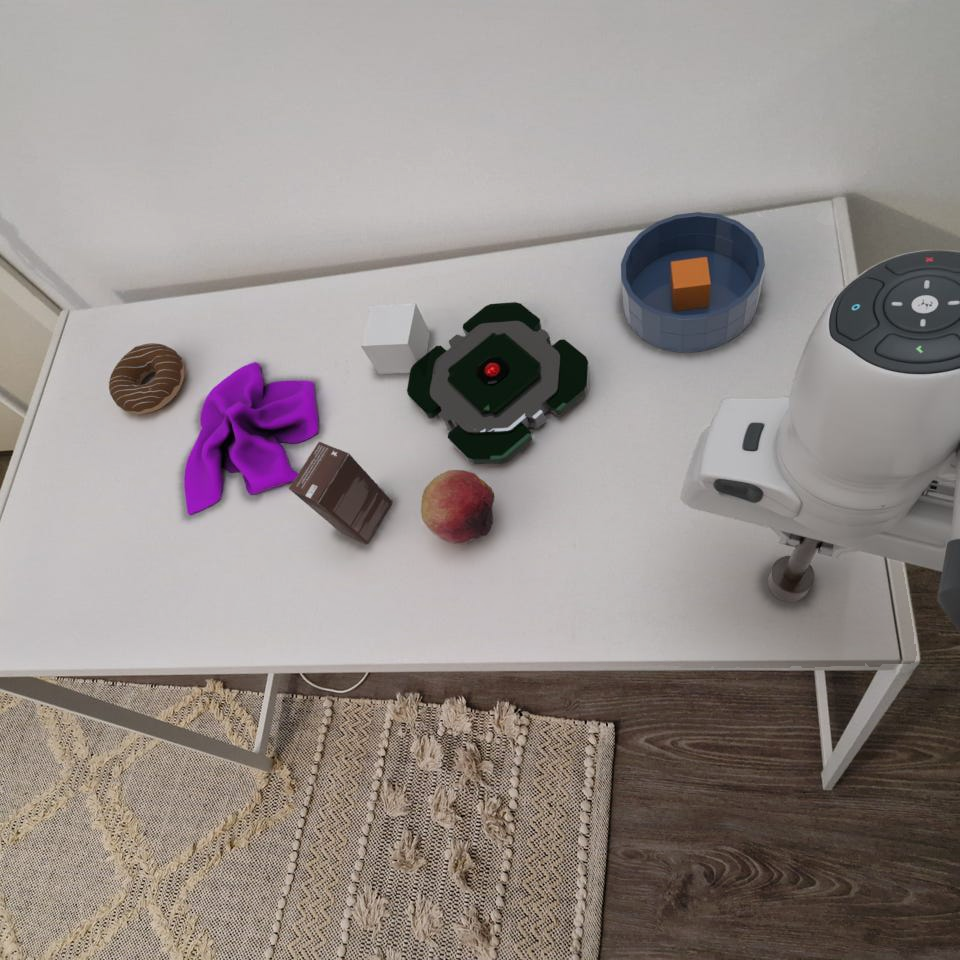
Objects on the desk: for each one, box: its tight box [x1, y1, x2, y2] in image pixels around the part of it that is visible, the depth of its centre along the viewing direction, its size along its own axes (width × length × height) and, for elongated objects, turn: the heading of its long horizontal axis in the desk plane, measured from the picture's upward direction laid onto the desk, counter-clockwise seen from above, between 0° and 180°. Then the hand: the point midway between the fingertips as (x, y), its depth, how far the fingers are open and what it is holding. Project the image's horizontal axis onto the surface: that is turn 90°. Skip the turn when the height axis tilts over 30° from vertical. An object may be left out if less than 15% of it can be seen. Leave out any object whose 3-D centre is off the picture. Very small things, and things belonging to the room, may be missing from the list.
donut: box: [108, 342, 185, 414], centre depth 96 cm, size 11×11×4 cm
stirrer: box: [767, 536, 822, 603], centre depth 60 cm, size 4×4×15 cm
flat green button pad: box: [406, 301, 590, 465], centre depth 82 cm, size 18×18×5 cm
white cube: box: [360, 302, 431, 375], centre depth 87 cm, size 6×6×6 cm
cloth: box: [183, 361, 319, 516], centre depth 87 cm, size 22×19×6 cm
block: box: [671, 257, 711, 311], centre depth 81 cm, size 4×4×4 cm
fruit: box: [420, 469, 495, 546], centre depth 74 cm, size 8×8×8 cm
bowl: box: [620, 211, 766, 353], centre depth 81 cm, size 15×15×6 cm
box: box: [288, 441, 393, 545], centre depth 75 cm, size 6×4×12 cm
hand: (808, 542), depth 57 cm, fingers closed on stirrer, 2 cm apart
